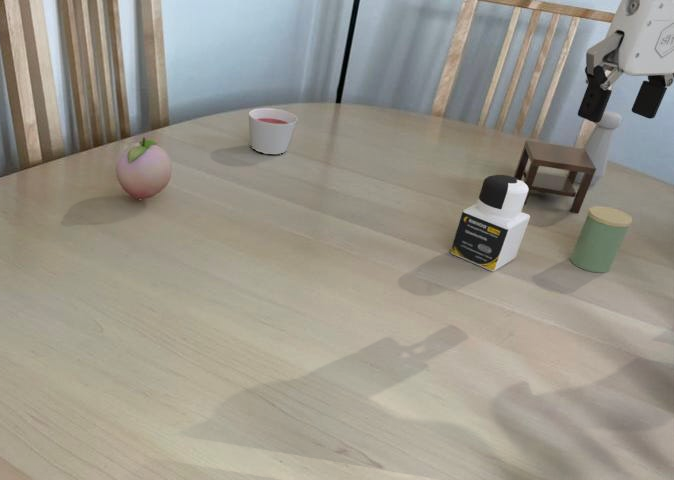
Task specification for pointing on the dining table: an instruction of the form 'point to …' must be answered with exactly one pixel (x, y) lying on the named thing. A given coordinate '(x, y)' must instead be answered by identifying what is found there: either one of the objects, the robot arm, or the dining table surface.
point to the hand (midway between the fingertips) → (615, 117)
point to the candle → (271, 129)
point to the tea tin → (600, 239)
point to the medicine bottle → (493, 224)
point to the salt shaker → (600, 144)
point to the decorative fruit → (143, 169)
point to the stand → (558, 159)
